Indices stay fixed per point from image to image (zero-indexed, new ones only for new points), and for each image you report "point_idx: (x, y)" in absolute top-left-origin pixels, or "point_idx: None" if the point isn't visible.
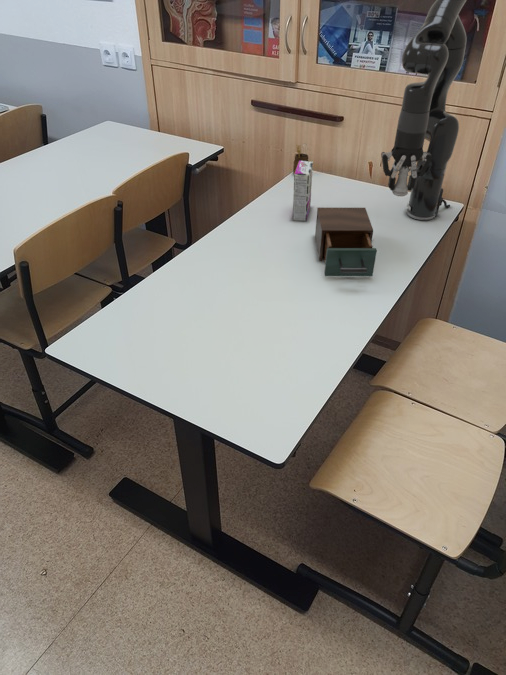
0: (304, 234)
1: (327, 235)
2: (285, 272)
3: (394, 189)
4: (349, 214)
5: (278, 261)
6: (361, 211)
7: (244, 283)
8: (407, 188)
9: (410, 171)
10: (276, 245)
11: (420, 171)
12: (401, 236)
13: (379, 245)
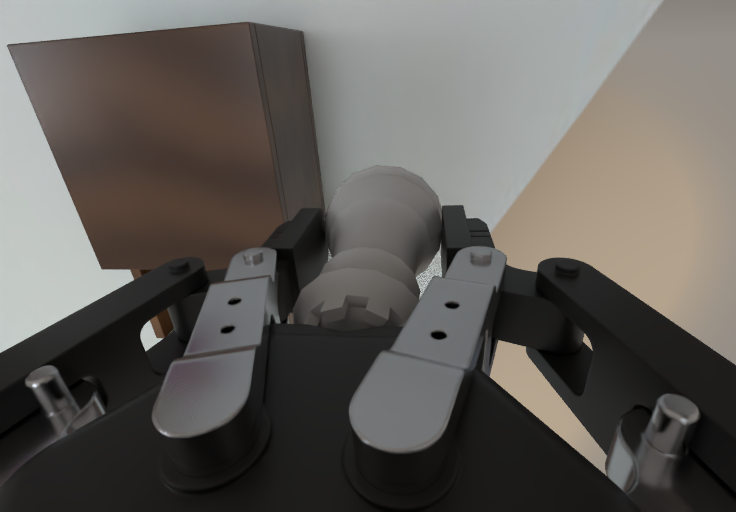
0: (82, 25)
1: (134, 274)
2: (107, 274)
3: (332, 256)
4: (176, 123)
5: (69, 222)
6: (231, 80)
7: (37, 316)
8: (429, 259)
9: (450, 271)
10: (23, 124)
11: (540, 368)
12: (483, 5)
13: (373, 102)
